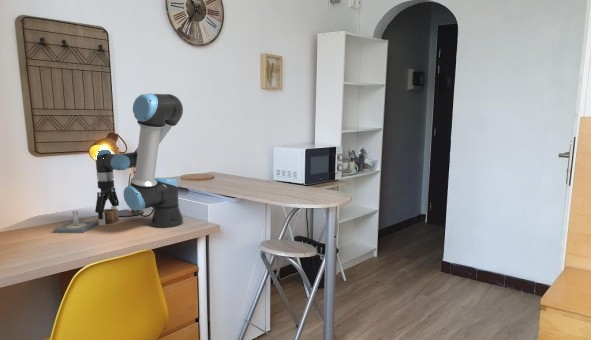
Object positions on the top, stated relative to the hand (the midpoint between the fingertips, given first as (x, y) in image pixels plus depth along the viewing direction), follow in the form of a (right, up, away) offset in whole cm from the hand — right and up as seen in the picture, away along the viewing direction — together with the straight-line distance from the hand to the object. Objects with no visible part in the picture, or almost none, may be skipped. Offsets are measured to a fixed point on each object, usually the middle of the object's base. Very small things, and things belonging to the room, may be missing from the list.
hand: (108, 221), depth 219 cm
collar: (0, 0, 0) cm, 0 cm away
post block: (-11, -2, -11) cm, 16 cm away
